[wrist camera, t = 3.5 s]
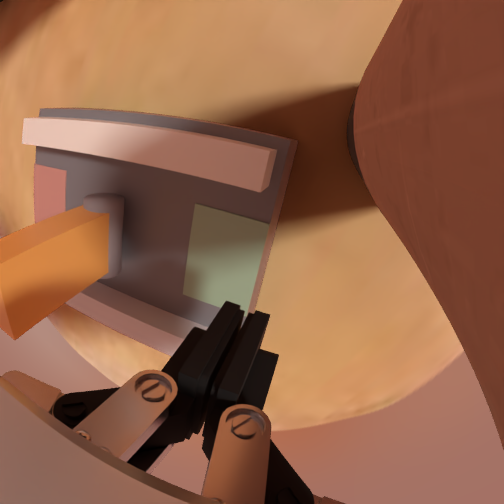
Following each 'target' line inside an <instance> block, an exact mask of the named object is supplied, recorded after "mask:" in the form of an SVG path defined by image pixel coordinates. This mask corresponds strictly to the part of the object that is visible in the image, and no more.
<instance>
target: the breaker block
mask: <svg viewBox="0 0 504 504" xmlns="http://www.w3.org/2000/svg"><path fill="white" fill-rule="evenodd" d="M22 144H28V145H36V161H35V164H34V213H35V223H38V222H40V221H42V220H45V219H47V218H50V217H52V216H55V215H58V214H60V213H63V212H65V211H68V210H71V209H73V208H76V207H79V206H82V205H83V199H84V197H85V196H87V195H90V194H94V193H112V194H117V195H120V196H122V197H123V198H124V199H125V202H124V216H123V234H122V269H121V272H120V273H119V274H118V275H117V276H115V277H113V278H108V279H98V280H97V281H95V282H94V283H92V284H91V285H90V286H88V287H87V288H85V289H84V290H82V291H81V292H80V293H78V294H77V295H75V296H74V297H73V298H71V299H70V300H68V301H67V302H66V303H65V304H67V305H69V306H70V307H72V308H74V309H76V310H77V311H79V312H81V313H83V314H85V315H87V316H88V317H90V318H92V319H94V320H96V321H98V322H100V323H102V324H104V325H106V326H108V327H110V328H112V329H113V330H116V331H118V332H120V333H122V334H124V335H126V336H128V337H130V338H132V339H134V340H136V341H138V342H141V343H143V344H145V345H147V346H149V347H152V348H154V349H156V350H158V351H161V352H163V353H165V354H167V355H170V356H173V354H174V353H175V351H176V350H177V349H178V347H179V346H180V345H181V343H182V342H183V340H184V339H185V338H186V336H187V335H188V334H189V332H190V331H191V330H192V328H193V327H195V326H196V327H198V328H201V329H204V330H207V328H208V327H209V325H210V324H211V322H212V321H213V319H214V318H215V316H216V315H217V313H218V312H219V310H220V309H221V307H222V306H223V304H224V303H225V301H229V302H232V303H235V304H238V305H240V306H241V307H240V309H241V310H244V311H245V313H244V317H243V321H242V325H243V323H244V321H245V319H246V317H247V315H248V313H249V312H250V313H253V314H254V311H255V307H256V303H257V299H258V296H259V292H260V288H261V284H262V281H263V277H264V273H265V269H266V266H267V262H268V258H269V254H270V250H271V247H272V243H273V239H274V235H275V231H276V227H277V224H278V220H279V216H280V212H281V208H282V204H283V200H284V196H285V192H286V188H287V184H288V180H289V176H290V172H291V168H292V164H293V160H294V156H295V152H296V148H297V144H298V140H294V139H290V138H286V137H282V136H278V135H274V134H269V133H265V132H260V131H256V130H251V129H246V128H242V127H236V126H231V125H226V124H221V123H215V122H209V121H203V120H197V119H191V118H184V117H177V116H169V115H162V114H153V113H144V112H134V111H122V110H109V109H91V108H44V109H40V114H39V117H32V118H24V124H23V135H22ZM242 325H241V327H242Z"/></svg>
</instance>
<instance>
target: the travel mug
mask: <svg viewBox="0 0 504 504" xmlns="http://www.w3.org/2000/svg"><path fill="white" fill-rule="evenodd" d="M347 142H348V148H349V152H350V155H351V158H352V161H353V163H354V165H355V167H356V169H357V171H358V173H359V175H360V176H361V178H362V180H363V182H364V184H365V185H366V187H367V189H368V191H369V193H370V195H371V196H372V198H373V200H374V201H375V203H376V205H377V206H378V208H379V209H380V211H381V213H382V214H383V215H384V217H385V218H386V219H387V221H388V222H389V224H390V225H391V227H392V228H393V229H394V231H395V232H396V234H397V235H398V237H399V238H400V240H401V241H402V243H403V244H404V246H405V247H406V249H407V250H408V252H409V253H410V255H411V256H412V258H413V260H414V261H415V263H416V264H417V266H418V268H419V269H420V271H421V272H422V274H423V276H424V277H425V279H426V281H427V282H428V284H429V286H430V287H431V289H432V291H433V292H434V294H435V296H436V298H437V299H438V301H439V303H440V305H441V306H442V308H443V310H444V312H445V314H446V316H447V317H448V319H449V321H450V323H451V325H452V327H453V329H454V331H455V333H456V335H457V337H458V338H459V340H460V342H461V345H462V347H463V349H464V351H465V353H466V355H467V357H468V359H469V361H470V363H471V366H472V368H473V370H474V372H475V374H476V377H477V379H478V381H479V384H480V386H481V388H482V391H483V393H484V396H485V398H486V401H487V403H488V406H489V408H490V411H491V414H492V416H493V419H494V422H495V425H496V428H497V431H498V433H499V436H500V439H501V443H502V446H503V449H504V0H403V1H402V3H401V5H400V6H399V8H398V10H397V12H396V14H395V16H394V18H393V20H392V22H391V23H390V25H389V27H388V29H387V31H386V33H385V35H384V37H383V39H382V40H381V42H380V44H379V46H378V48H377V50H376V52H375V53H374V55H373V57H372V59H371V61H370V63H369V65H368V66H367V68H366V70H365V72H364V75H363V77H362V80H361V82H360V84H359V87H358V90H357V93H356V96H355V99H354V102H353V105H352V108H351V111H350V115H349V119H348V125H347Z"/></svg>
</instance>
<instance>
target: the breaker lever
mask: <svg viewBox="0 0 504 504" xmlns="http://www.w3.org/2000/svg"><path fill="white" fill-rule="evenodd" d="M124 202H125V199H124V198H123V197H122V196H120V195H117V194H112V193H94V194H90V195H87V196H85V197H84V199H83V205H82V206H79V207H76V208H73V209H71V210H68V211H65V212H63V213H60V214H58V215H55V216H52V217H50V218H47V219H45V220H42V221H40V222H38V223H35V224H33V225H30V226H28V227H26V228H23V229H21V230H19V231H16V232H14V233H12V234H10V235H7V236H5V237H3V238H1V239H0V328H1V329H2V330H3V331H5V332H6V333H7V334H8V335H9V336H10V337H11V338H13V339H14V340H16V339H17V338H19V337H20V336H21V335H23V334H24V333H25V332H26V331H28V330H29V329H30V328H32V327H33V326H34V325H35V324H37V323H38V322H40V321H41V320H42V319H44V318H45V317H46V316H48V315H49V314H50V313H52V312H53V311H55V310H56V309H57V308H59V307H60V306H61V305H63V304H64V303H66V302H67V301H68V300H70V299H71V298H73V297H74V296H75V295H77V294H78V293H80V292H81V291H82V290H84V289H85V288H87V287H88V286H90V285H91V284H92V283H94V282H95V281H97V280H98V279H108V278H113V277H115V276H117V275H118V274H119V273H120V272H121V269H122V234H123V216H124Z"/></svg>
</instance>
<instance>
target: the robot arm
mask: <svg viewBox="0 0 504 504" xmlns="http://www.w3.org/2000/svg"><path fill="white" fill-rule="evenodd" d="M240 307H241V306H240V305H238V304H235V303H232V302H229V301H225V303H224V304H223V306H222V307H221V309H220V310H219V312H218V313H217V315H216V316H215V318H214V319H213V321H212V322H211V324H210V325H209V327H208V328H207V330H204V329H201V328H198V327H196V326H195V327H193V328H192V330H191V331H190V332H189V334H188V335H187V336H186V338H185V339H184V340H183V342H182V343H181V345H180V346H179V347H178V349H177V350H176V351H175V353H174V354H173V356H172V357H171V358H170V360H169V361H168V362H167V364H166V365H165V366H164V368H163V369H162V371H158V370H145V371H141V372H139V373H137V374H136V375H134V376H133V377H132V378H131V379H130V380H129V381H127V382H126V383H125V384H124V385H123V386H122V387H118V388H111V389H103V390H94V391H86V392H75V393H69V394H63V393H62V392H61V390H60V389H58V388H55V387H53V386H50V385H48V384H46V383H44V382H41V381H39V380H37V379H35V378H32V377H30V376H28V375H26V374H24V373H22V372H19V371H9V372H6V373H5V374H4V375H3V376H0V504H345V503H342V502H339V501H336V500H333V499H331V498H328V497H325V496H324V497H323V498H321V497H318V496H316V495H313V494H312V492H311V491H310V489H309V488H308V487H307V486H306V484H305V483H304V482H303V481H302V479H301V478H300V477H299V476H298V474H297V473H296V472H295V471H294V469H293V468H292V467H291V465H290V464H289V463H288V461H287V460H286V459H285V458H284V456H283V455H282V454H281V452H280V451H279V450H278V448H277V447H276V446H275V444H274V443H273V442H272V440H271V439H270V437H271V436H270V435H271V422H270V420H269V418H268V416H267V415H266V414H265V413H264V412H263V411H262V410H263V407H264V404H265V400H266V397H267V394H268V391H269V387H270V384H271V381H272V377H273V374H274V371H275V367H276V364H277V360H278V357H279V355H278V354H275V353H271V352H268V351H265V350H262V349H260V346H261V343H262V340H263V337H264V334H265V330H266V327H267V324H268V321H269V317H270V315H269V314H266V313H263V312H260V311H257V310H256V311H255V313H254V314H253V313H250V312H249V313H248V315H247V317H246V319H245V321H244V323H243V325H242V321H243V317H244V313H245V311H244V310H241V309H240ZM241 325H242V327H241ZM204 422H205V424H204ZM203 424H204V429H203V434H202V436H203V437H204V440H203V445H202V449H203V451H204V453H205V455H206V457H207V458H208V460H209V463H208V467H207V471H206V475H205V480H204V484H203V488H202V492H201V495H198V494H195V493H193V492H190V491H187V490H185V489H182V488H180V487H178V486H175V485H172V484H170V483H168V482H166V481H164V480H161V479H159V478H157V477H155V476H152V475H150V474H151V472H152V471H153V470H154V469H155V468H156V467H157V466H158V464H159V463H160V462H161V461H162V460H163V458H164V457H165V456H166V455H167V454H168V452H169V451H170V450H171V448H172V447H173V445H174V443H178V442H182V441H184V440H185V438H186V439H188V440H189V439H190V437H191V435H192V433H195V434H198V433H199V432H200V430H201V428H202V426H203Z"/></svg>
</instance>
